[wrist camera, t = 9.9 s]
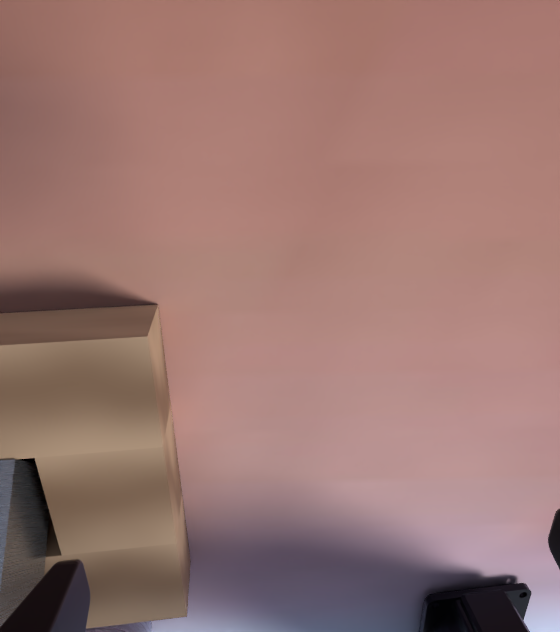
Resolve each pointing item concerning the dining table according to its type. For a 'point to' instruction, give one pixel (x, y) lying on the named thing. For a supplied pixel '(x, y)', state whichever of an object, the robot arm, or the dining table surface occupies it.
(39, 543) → the square bit
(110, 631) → the clear glass jar
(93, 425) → the bore block
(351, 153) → the dining table surface
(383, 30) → the dining table surface
